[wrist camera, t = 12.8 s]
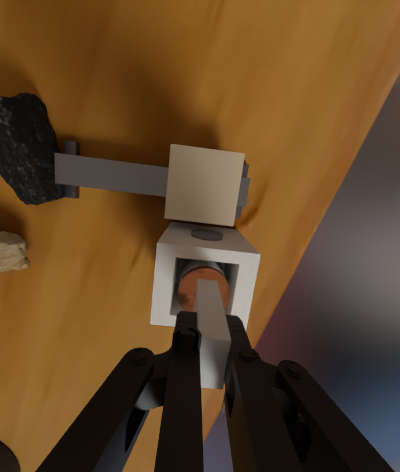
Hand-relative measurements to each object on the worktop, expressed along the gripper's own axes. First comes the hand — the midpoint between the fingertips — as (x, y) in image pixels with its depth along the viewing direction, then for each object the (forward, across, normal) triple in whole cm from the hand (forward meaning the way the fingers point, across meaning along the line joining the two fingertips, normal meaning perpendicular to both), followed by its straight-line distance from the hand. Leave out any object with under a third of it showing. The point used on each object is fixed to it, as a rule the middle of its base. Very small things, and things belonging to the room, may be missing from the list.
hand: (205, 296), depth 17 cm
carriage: (+11, -1, +8) cm, 14 cm away
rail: (+11, -6, +8) cm, 15 cm away
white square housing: (+11, 0, 0) cm, 11 cm away
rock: (+12, -19, +9) cm, 24 cm away
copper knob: (+6, 0, 0) cm, 6 cm away
